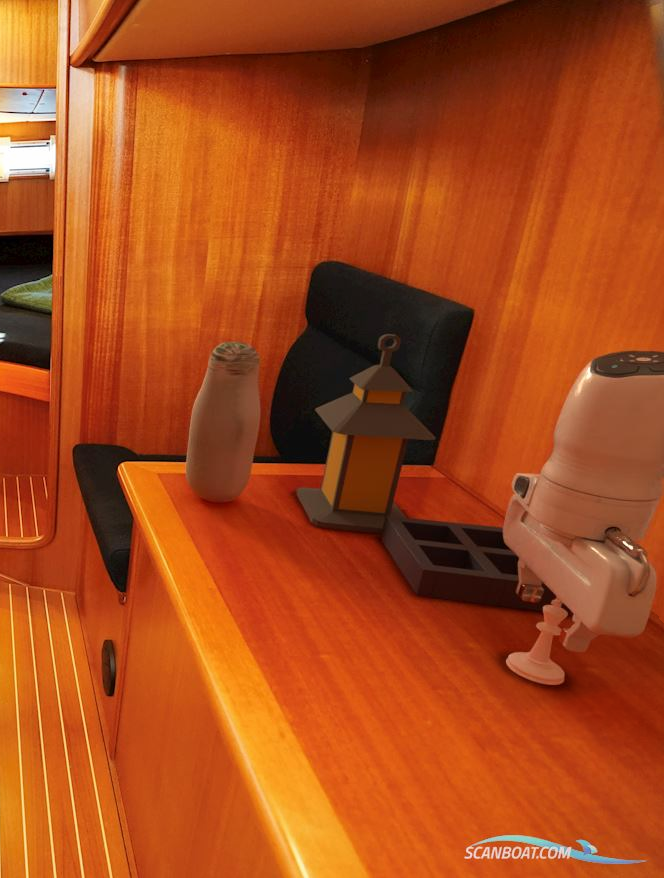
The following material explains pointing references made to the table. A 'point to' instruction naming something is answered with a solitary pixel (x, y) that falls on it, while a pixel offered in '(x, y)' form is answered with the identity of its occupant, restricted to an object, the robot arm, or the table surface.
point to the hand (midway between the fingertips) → (547, 621)
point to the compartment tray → (458, 562)
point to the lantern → (364, 450)
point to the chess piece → (541, 650)
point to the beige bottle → (224, 424)
